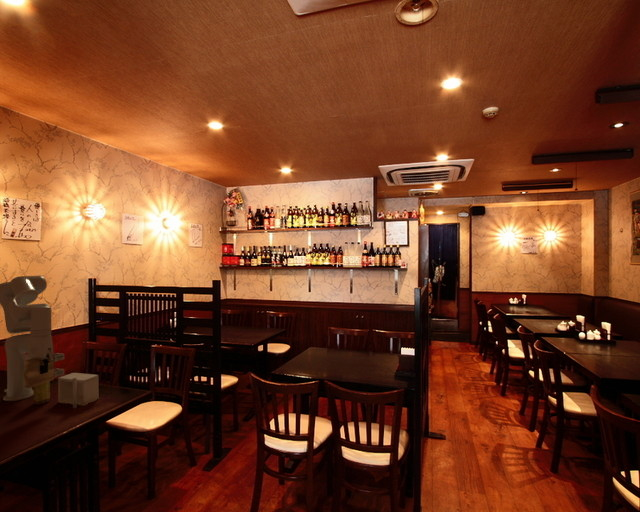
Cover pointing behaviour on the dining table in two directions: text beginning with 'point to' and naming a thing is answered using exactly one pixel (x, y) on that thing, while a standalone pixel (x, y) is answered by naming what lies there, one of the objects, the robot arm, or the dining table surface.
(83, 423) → the dining table surface
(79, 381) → the white box
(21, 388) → the robot arm
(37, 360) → the door
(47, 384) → the sauce bottle
